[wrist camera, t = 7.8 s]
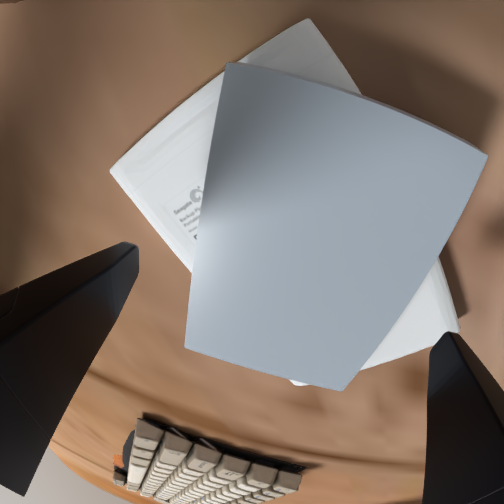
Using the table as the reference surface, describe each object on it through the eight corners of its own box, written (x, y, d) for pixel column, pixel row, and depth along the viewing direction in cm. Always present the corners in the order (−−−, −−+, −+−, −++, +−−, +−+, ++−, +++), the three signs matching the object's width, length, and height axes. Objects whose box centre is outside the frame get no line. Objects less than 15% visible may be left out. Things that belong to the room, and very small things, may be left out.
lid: (194, 326, 13) (184, 347, 12) (239, 61, 7) (226, 62, 6) (342, 368, 13) (341, 391, 12) (470, 143, 7) (488, 156, 6)
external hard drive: (297, 362, 16) (126, 158, 11) (453, 307, 12) (311, 22, 8) (293, 388, 15) (102, 174, 10) (462, 334, 11) (309, 14, 6)
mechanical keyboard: (107, 386, 22) (89, 419, 19) (324, 460, 23) (321, 495, 20) (116, 469, 44) (110, 484, 41) (216, 505, 45) (212, 520, 42)
